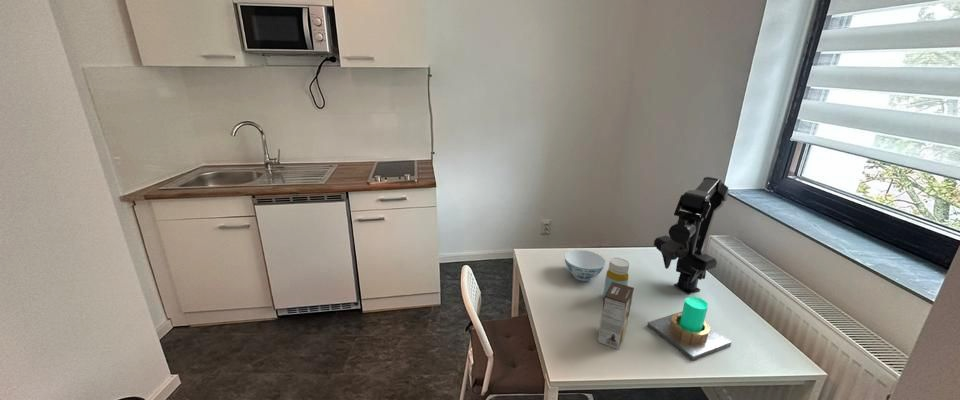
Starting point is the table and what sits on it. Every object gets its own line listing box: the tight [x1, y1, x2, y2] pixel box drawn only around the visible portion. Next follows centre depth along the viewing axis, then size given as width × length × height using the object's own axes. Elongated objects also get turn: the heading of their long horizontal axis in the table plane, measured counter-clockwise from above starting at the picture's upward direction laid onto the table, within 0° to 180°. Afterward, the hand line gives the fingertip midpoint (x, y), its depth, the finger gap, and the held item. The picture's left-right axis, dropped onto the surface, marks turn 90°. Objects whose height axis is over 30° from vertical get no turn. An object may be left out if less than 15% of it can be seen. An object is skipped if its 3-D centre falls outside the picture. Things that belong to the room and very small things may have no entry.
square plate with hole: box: [646, 311, 732, 362], centre depth 113 cm, size 16×16×4 cm
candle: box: [679, 296, 709, 332], centre depth 111 cm, size 6×6×12 cm
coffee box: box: [597, 282, 635, 350], centre depth 110 cm, size 9×6×16 cm
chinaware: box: [564, 249, 606, 282], centre depth 144 cm, size 15×15×8 cm
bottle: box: [602, 257, 630, 299], centre depth 128 cm, size 7×7×15 cm
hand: (678, 275), depth 123 cm, fingers open, 9 cm apart
